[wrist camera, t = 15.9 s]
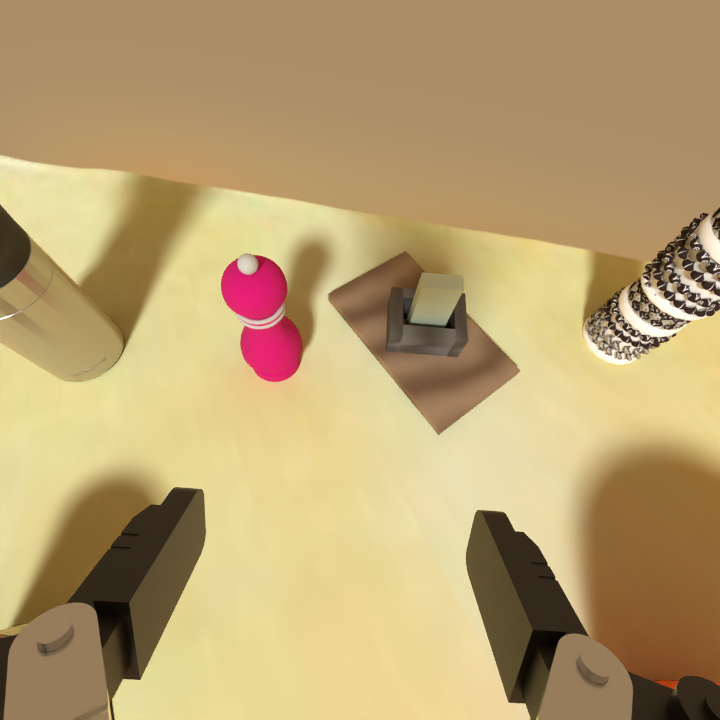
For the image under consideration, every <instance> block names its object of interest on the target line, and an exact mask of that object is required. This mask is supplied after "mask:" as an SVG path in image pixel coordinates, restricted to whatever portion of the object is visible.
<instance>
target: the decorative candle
mask: <svg viewBox="0 0 720 720" xmlns="http://www.w3.org/2000/svg"><path fill="white" fill-rule="evenodd" d="M700 218H701V219H702V220H701V219H696V218H695V219H694V220H693V221H692V222H691V224H690V226H689V227H684V228H683V229H682V230H681V235H680V236H677V237H676V238H675V239H674V242H670V243H669V244H668V245H667V247H666V248H665V251H659V252H658V254H657V258H655V259H654V260H653V261H652V263H651V264H647V265H646V266H645V268H644V270H643V272H642V275H641V277H640V278H638V279H637V280H636V281H634V282H633V283H631V284H630V285H628V286H627V287H624V288H622V289H621V290H620V292H616V293H615V294H614V296H613V299H608V300H607V302H606V303H605V304H604V305H602V306H600V307H599V308H598V310H597V311H596V312H593V313H592V314H591V317H589V318H588V319H587V320H586V321H585V323H584V325H583V327H582V330H583V338H584V340H585V343H586V345H587V347H588V348H589V349H590V350H591V351H592V352H593V353H594V354H595V355H596V356H597V357H599V358H601V359H602V360H604V361H606V362H608V363H613V364H617V365H623V364H629V363H631V362H633V361H634V360H635V359H640V357H641V356H640V353H643V354H648V353H649V348H651V349H655V348H656V347H659V346H660V343H664V342H667V341H669V340H670V337H674V336H676V334H677V331H679V330H680V329H682V328H683V327H684V326H686V325H687V323H689V322H691V321H692V320H699V319H703V318H705V317H706V316H712V315H714V313H715V311H718V310H719V309H720V208H718V209H716V210H715V211H713V212H712V213H711V214H706V213H705V214H704V213H702V214H701V215H700ZM697 226H699V227H698V229H697V230H696V228H697ZM695 230H696V231H695ZM694 231H695V232H694Z"/></svg>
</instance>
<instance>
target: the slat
mask: <svg viewBox="0 0 720 720" xmlns="http://www.w3.org/2000/svg"><path fill="white" fill-rule="evenodd" d="M462 292H463V279H462V276H461V275H448V274H436V273H424V272H422V274H421V277H420V280H419V283H418V286H417V289H416V292H415V295H414V298H413V301H412V304H411V307H410V311H409V314H408V317H407V320H406V323H405V325H413V326H424V327H436V328H444V327H445V325H446V323H447V321H448V319H449V318H450V316H451V314H452V312H453V310H454V308H455V306H456V304H457V302H458V300H459V298H460V296H461V294H462Z"/></svg>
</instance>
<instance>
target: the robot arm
mask: <svg viewBox="0 0 720 720" xmlns="http://www.w3.org/2000/svg"><path fill="white" fill-rule="evenodd" d="M0 343H2V344H4V345H5V346H7V347H8V348H10V349H12V350H13V351H15V352H17V353H18V354H20V355H21V356H23V357H25V358H26V359H28V360H30V361H31V362H33V363H34V364H36V365H38V366H39V367H41V368H43V369H44V370H46V371H47V372H49V373H51V374H52V375H54V376H56V377H57V378H59V379H62V380H65V381H71V382H79V381H86V380H90V379H93V378H95V377H97V376H99V375H101V374H103V373H104V372H106V371H107V370H108V369H110V368H111V367H112V366H113V365H114V364H115V362H116V361H117V360H118V359H119V357H120V355H121V353H122V350H123V346H124V338H123V334H122V332H121V330H120V328H119V327H118V326H117V325H116V324H115V323H114V322H113V321H112V320H111V319H110V318H109V317H108V316H107V315H106V314H105V313H104V312H103V311H102V309H101V308H100V307H99V306H98V305H97V304H96V303H95V302H94V301H93V300H92V299H91V298H90V297H89V296H88V295H87V294H86V293H85V292H84V291H83V290H82V289H81V288H80V287H79V286H78V285H77V284H76V283H75V282H74V281H73V280H72V279H71V278H70V277H69V276H68V275H67V274H66V273H65V272H64V271H63V269H62V268H61V267H60V266H59V265H58V264H57V263H56V262H55V261H54V260H53V259H52V258H51V257H50V256H49V255H48V254H47V253H46V252H45V251H44V250H43V249H42V248H41V247H40V246H39V245H38V244H37V243H36V242H35V241H34V240H33V239H32V238H31V237H30V236H29V235H28V234H27V233H26V232H25V231H24V230H23V229H22V228H21V227H20V226H19V225H18V224H17V223H16V222H15V221H14V220H13V218H12V217H11V216H10V215H9V214H8V213H7V212H6V211H5V209H4V208H3V207H2V206H1V205H0ZM205 535H206V526H205V506H204V493H203V490H202V489H193V488H179V487H175V488H173V489H172V490H171V492H170V493H169V494H168V496H167V497H166V499H165V500H164V501H163V503H162V504H161V505H150V506H149V507H147V508H146V509H144V510H143V511H142V512H140V513H139V514H137V515H136V516H135V517H133V519H132V520H131V521H130V522H129V524H128V525H127V526H126V528H125V529H124V530H123V531H122V533H121V536H119V537H118V538H117V539H116V540H115V542H114V543H113V544H112V546H111V549H108V551H107V552H106V553H105V555H104V556H103V557H102V558H101V560H100V561H99V562H98V564H97V565H96V566H95V567H94V569H93V570H92V571H91V573H90V574H89V575H88V576H87V578H86V579H85V580H84V582H83V583H82V584H81V585H80V587H79V588H78V589H77V591H76V592H75V593H74V595H73V596H72V597H71V598H70V600H69V601H68V602H67V603H66V604H64V605H60V606H57V607H55V608H52V609H50V610H48V611H46V612H44V613H43V614H41V615H39V616H38V617H36V618H35V619H34V620H32V621H31V622H30V623H29V624H28V625H26V626H25V627H24V628H23V629H22V630H21V632H20V633H19V634H16V635H13V636H9V637H4V638H0V720H115V714H114V706H113V700H112V699H113V697H114V695H115V693H116V691H117V689H118V687H119V685H120V683H121V682H122V680H123V679H135V680H140V679H141V677H142V675H143V673H144V671H145V669H146V667H147V665H148V663H149V661H150V658H151V656H152V654H153V652H154V650H155V648H156V646H157V644H158V642H159V640H160V638H161V636H162V634H163V632H164V629H165V627H166V625H167V623H168V621H169V619H170V617H171V615H172V613H173V611H174V609H175V607H176V605H177V603H178V600H179V598H180V596H181V594H182V592H183V590H184V588H185V586H186V584H187V582H188V580H189V578H190V576H191V574H192V572H193V569H194V567H195V565H196V563H197V561H198V559H199V557H200V555H201V552H202V549H203V546H204V542H205ZM466 565H467V571H468V575H469V579H470V582H471V585H472V588H473V591H474V594H475V598H476V601H477V604H478V607H479V610H480V613H481V617H482V620H483V623H484V626H485V629H486V632H487V636H488V639H489V642H490V645H491V648H492V651H493V655H494V658H495V661H496V664H497V667H498V670H499V674H500V677H501V680H502V683H503V686H504V689H505V693H506V696H507V699H508V702H509V703H526V706H527V709H528V712H529V715H530V720H720V686H719V685H717V684H715V683H713V682H711V681H709V680H707V679H704V678H701V677H696V676H686V677H683V678H681V679H680V680H679V682H678V683H677V685H676V687H675V689H672V688H669V687H666V686H664V685H661V684H658V683H656V682H653V681H650V680H648V679H645V678H642V677H640V676H637V675H635V674H632V673H630V672H628V671H627V670H626V668H625V667H624V665H623V664H622V663H621V661H620V660H619V659H618V658H617V657H616V656H615V655H614V654H613V653H612V652H611V651H610V650H609V649H608V648H607V647H605V646H604V645H603V644H601V643H600V642H598V641H596V640H594V639H592V638H590V637H589V636H588V634H587V633H586V631H585V629H584V627H583V625H582V624H581V622H580V620H579V618H578V617H577V615H576V613H575V611H574V609H573V608H572V606H571V604H570V602H569V601H568V599H567V597H566V595H565V593H564V592H563V590H562V588H561V586H560V585H559V583H558V581H556V580H555V576H554V574H553V572H552V570H551V569H550V567H549V566H548V565H547V561H546V560H545V558H544V556H543V554H542V553H541V551H540V549H539V547H538V546H537V545H536V544H535V543H534V542H533V541H532V540H531V539H530V538H529V537H528V536H527V535H526V534H525V533H524V532H516V531H514V529H513V527H512V525H511V523H510V521H509V519H508V517H507V515H506V514H505V513H504V512H498V511H484V510H478V511H476V513H475V516H474V521H473V525H472V529H471V534H470V538H469V542H468V547H467V552H466Z"/></svg>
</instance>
